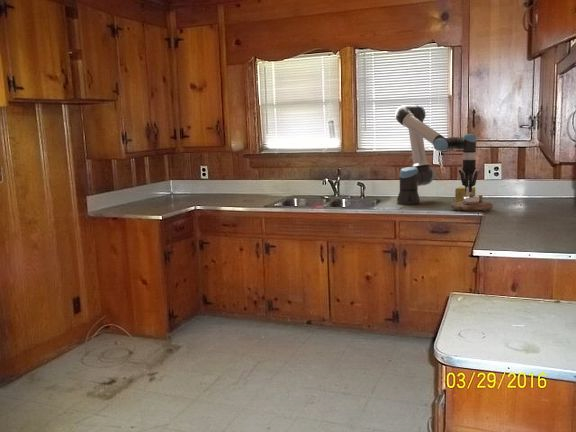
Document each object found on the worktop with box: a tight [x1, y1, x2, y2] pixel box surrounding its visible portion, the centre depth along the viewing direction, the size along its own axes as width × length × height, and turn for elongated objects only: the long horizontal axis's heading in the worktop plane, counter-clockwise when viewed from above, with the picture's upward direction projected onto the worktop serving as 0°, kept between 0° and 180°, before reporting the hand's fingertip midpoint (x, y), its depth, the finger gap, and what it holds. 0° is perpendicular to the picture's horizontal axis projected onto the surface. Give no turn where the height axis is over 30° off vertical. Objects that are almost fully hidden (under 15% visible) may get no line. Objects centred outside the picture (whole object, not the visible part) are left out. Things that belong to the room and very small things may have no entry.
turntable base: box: [458, 209, 485, 213], centre depth 332 cm, size 14×14×2 cm
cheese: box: [454, 186, 476, 202], centre depth 360 cm, size 10×11×10 cm
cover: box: [463, 194, 479, 206], centre depth 331 cm, size 9×9×6 cm
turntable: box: [450, 194, 494, 211], centre depth 331 cm, size 24×24×6 cm
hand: (468, 197), depth 343 cm, fingers closed
